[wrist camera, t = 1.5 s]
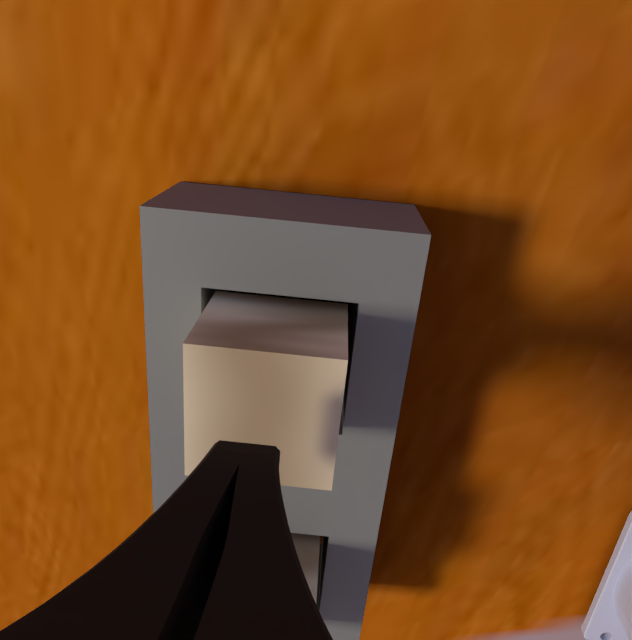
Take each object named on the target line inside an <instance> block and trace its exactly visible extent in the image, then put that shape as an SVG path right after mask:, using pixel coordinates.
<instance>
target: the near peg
mask: <svg viewBox="0 0 632 640" xmlns="http://www.w3.org/2000/svg"><path fill="white" fill-rule="evenodd" d="M347 365H348V304H341V303H332V302H322V301H312V300H302V299H292V298H282V297H272V296H262V295H252V294H242V293H233V292H223V291H215V293H214V295H213V296H212V298H211V299H210V301H209V303H208V304H207V306H206V307H205V309H204V311H203V312H202V314H201V315H200V317H199V318H198V320H197V322H196V323H195V325H194V326H193V328H192V330H191V331H190V333H189V334H188V336H187V338H186V339H185V341H184V342H183V392H184V464H185V475H187V476H189V475H190V474H191V473H192V471H193V470H194V469H195V468H196V467H197V465H198V464H199V463H200V462H201V461H202V459H203V458H204V457H205V456H206V454H207V453H208V452H209V450H210V449H211V448H212V446H213V445H214V444H215V443H216V442H218V441H219V440H222V441H232V442H241V443H251V444H261V445H270V446H276V447H277V448H278V449H279V450H280V462H279V476H280V484H281V485H282V486H292V487H301V488H311V489H320V490H330V491H332V484H333V476H334V468H335V460H336V452H337V444H338V436H339V428H340V420H341V412H342V405H343V397H344V389H345V381H346V373H347Z"/></svg>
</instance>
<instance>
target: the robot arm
mask: <svg viewBox="0 0 632 640" xmlns="http://www.w3.org/2000/svg"><path fill="white" fill-rule="evenodd" d="M279 462H280V450H279V449H278V448H277V447H276V446H270V445H261V444H251V443H241V442H232V441H222V440H219V441H218V442H216V443H215V444H214V445H213V446H212V448H211V449H210V450H209V452H208V453H207V454H206V456H205V457H204V458H203V459H202V461H201V462H200V463H199V464H198V465H197V467H196V468H195V469H194V470H193V471H192V473H191V474H190V475H189V476H188V477H187V478H186V480H185V481H184V482H183V483H182V484H181V485H180V486H179V487H178V488H177V489H176V490H175V491H174V493H173V494H172V495H171V496H170V497H169V498H168V499H167V500H166V501H165V502H164V503H163V504H162V505H161V506H160V507H159V508H158V509H157V510H156V511H155V512H154V513H153V514H152V515H151V516H150V517H149V518H148V519H147V520H146V521H145V522H144V523H143V524H142V525H141V526H140V527H139V528H138V529H137V530H136V531H135V532H134V533H133V534H131V535H130V536H129V537H128V538H127V539H126V540H125V541H124V542H122V543H121V544H120V545H119V546H118V547H117V548H116V549H114V550H113V551H112V552H111V553H110V554H108V555H107V556H106V557H105V558H104V559H102V560H101V561H100V562H99V563H97V564H96V565H95V566H94V567H93V568H91V569H90V570H89V571H87V572H86V573H85V574H83V575H82V576H81V577H79V578H78V579H77V580H75V581H74V582H73V583H71V584H70V585H69V586H67V587H66V588H65V589H63V590H62V591H61V592H59V593H58V594H56V595H55V596H54V597H52V598H51V599H49V600H48V601H46V602H45V603H43V604H42V605H41V606H39V607H38V608H36V609H34V610H33V611H31V612H30V613H28V614H27V615H25V616H23V617H22V618H20V619H19V620H17V621H16V622H14V623H12V624H11V625H9V626H8V627H6V628H5V629H3V630H1V631H0V640H333V639H332V637H331V635H330V633H329V631H328V629H327V627H326V625H325V623H324V621H323V619H322V616H321V614H320V612H319V610H318V607H317V605H316V603H315V600H314V598H313V596H312V593H311V591H310V588H309V586H308V583H307V581H306V578H305V575H304V573H303V570H302V567H301V564H300V561H299V558H298V555H297V552H296V549H295V546H294V542H293V539H292V536H291V532H290V528H289V525H288V520H287V516H286V512H285V507H284V503H283V497H282V492H281V484H280V476H279ZM581 631H582V633H583V635H584V637H585V639H587V640H632V511H631V512H630V514H629V516H628V518H627V520H626V523H625V525H624V528H623V530H622V532H621V535H620V537H619V539H618V542H617V544H616V547H615V549H614V551H613V554H612V556H611V558H610V561H609V563H608V566H607V568H606V570H605V573H604V575H603V577H602V580H601V582H600V585H599V587H598V589H597V592H596V594H595V597H594V599H593V601H592V604H591V606H590V608H589V611H588V613H587V616H586V618H585V620H584V623H583V625H582V628H581Z"/></svg>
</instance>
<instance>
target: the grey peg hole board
mask: <svg viewBox="0 0 632 640" xmlns="http://www.w3.org/2000/svg"><path fill="white" fill-rule="evenodd" d="M140 226H141V249H142V271H143V293H144V315H145V338H146V360H147V382H148V404H149V426H150V449H151V471H152V493H153V513H154V512H155V511H156V510H157V509H158V508H159V507H160V506H161V505H162V504H163V503H164V502H165V501H166V500H167V499H168V498H169V497H170V496H171V495H172V494H173V493H174V491H175V490H176V489H177V488H178V487H179V486H180V485H181V484H182V483H183V482H184V481H185V480H186V478H187V477H188V476H187V475H185V464H184V392H183V342H184V341H185V339H186V338H187V336H188V334H189V333H190V331H191V330H192V328H193V326H194V325H195V323H196V322H197V320H198V318H199V317H200V315H201V314H202V312H203V311H204V309H205V307H206V306H207V304H208V303H209V301H210V299H211V298H212V296H213V295H214V293H215V291H223V292H228V290H232V291H242V292H252V293H261V294H271V295H281V296H291V297H301V298H311V299H321V300H331V301H341V302H351V303H352V306H351V314H350V322H349V330H348V365H347V373H346V381H345V389H344V397H343V405H342V412H341V420H340V428H339V436H338V444H337V452H336V460H335V468H334V476H333V484H332V491H330V490H320V489H311V488H301V487H292V486H282V485H281V492H282V497H283V503H284V507H285V512H286V516H287V520H288V525H289V528H290V532H291V533H299V534H308V535H318V536H323V540H322V545H320V549H319V566H318V584H317V601H316V605H317V607H318V610H319V612H320V614H321V616H322V619H323V621H324V623H325V625H326V627H327V629H328V631H329V633H330V635H331V637H332V639H333V640H359V638H360V632H361V627H362V621H363V615H364V610H365V604H366V599H367V593H368V587H369V582H370V576H371V571H372V565H373V559H374V554H375V548H376V543H377V537H378V531H379V526H380V520H381V515H382V509H383V503H384V498H385V492H386V487H387V481H388V475H389V470H390V464H391V459H392V453H393V447H394V442H395V436H396V430H397V425H398V419H399V414H400V408H401V402H402V397H403V391H404V386H405V380H406V374H407V369H408V363H409V358H410V352H411V346H412V341H413V335H414V330H415V324H416V318H417V313H418V307H419V302H420V296H421V290H422V285H423V279H424V274H425V268H426V262H427V257H428V251H429V246H430V240H431V233H430V232H429V230H428V228H427V226H426V224H425V223H424V221H423V219H422V217H421V215H420V214H419V212H418V210H417V208H416V206H415V205H414V204H404V203H393V202H383V201H373V200H363V199H353V198H343V197H332V196H322V195H312V194H302V193H292V192H282V191H272V190H261V189H251V188H241V187H231V186H221V185H211V184H201V183H190V182H179V183H177V184H176V185H174V186H172V187H171V188H169V189H167V190H166V191H164V192H162V193H161V194H159V195H157V196H156V197H154V198H152V199H150V200H149V201H147V202H145V203H144V204H142V205H140Z"/></svg>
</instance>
